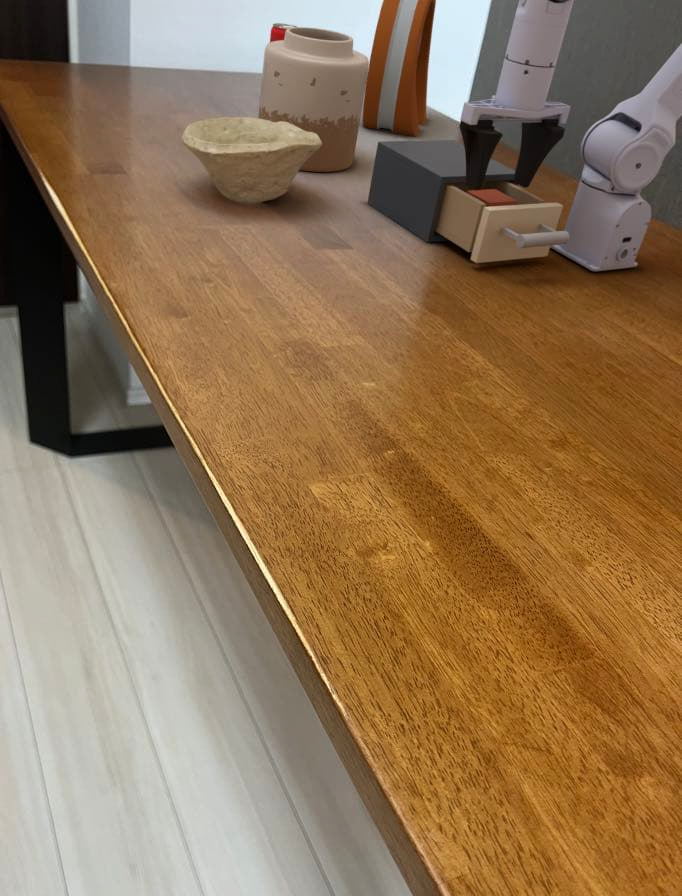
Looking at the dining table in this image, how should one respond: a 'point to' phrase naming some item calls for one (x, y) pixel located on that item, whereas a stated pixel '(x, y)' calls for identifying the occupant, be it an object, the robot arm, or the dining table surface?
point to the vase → (316, 91)
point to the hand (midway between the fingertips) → (497, 186)
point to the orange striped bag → (399, 67)
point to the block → (492, 197)
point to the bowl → (250, 155)
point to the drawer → (499, 223)
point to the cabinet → (421, 181)
